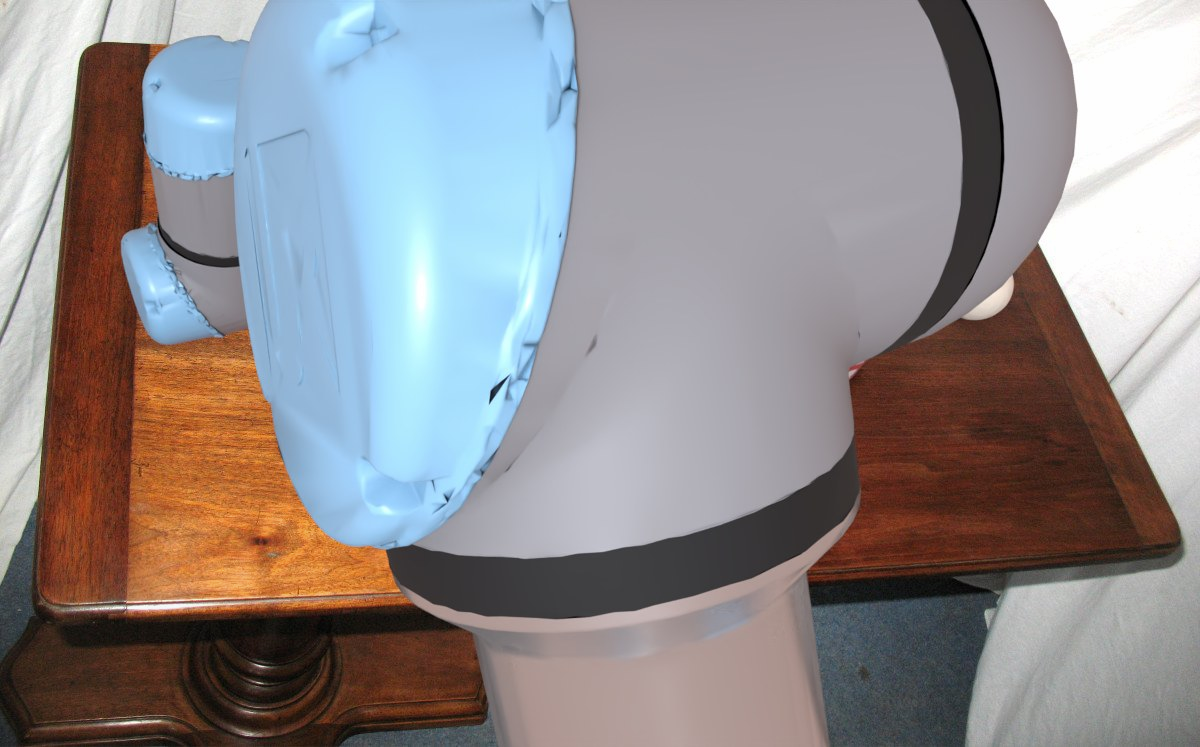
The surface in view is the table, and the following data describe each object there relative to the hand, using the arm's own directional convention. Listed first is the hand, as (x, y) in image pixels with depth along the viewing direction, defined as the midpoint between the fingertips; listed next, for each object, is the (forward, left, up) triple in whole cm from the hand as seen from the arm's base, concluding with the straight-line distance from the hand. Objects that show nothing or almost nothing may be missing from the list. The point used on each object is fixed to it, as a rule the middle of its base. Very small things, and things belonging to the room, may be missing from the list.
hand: (626, 183), depth 77 cm
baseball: (-17, -34, -12) cm, 40 cm away
